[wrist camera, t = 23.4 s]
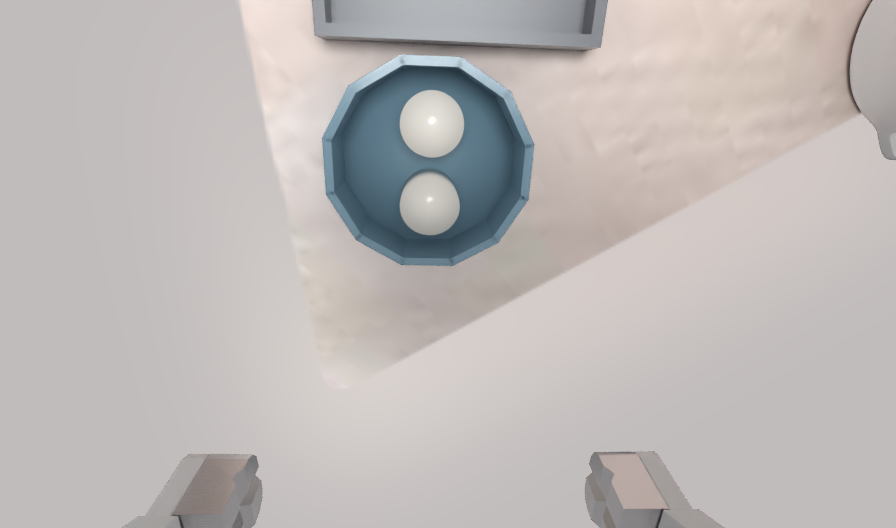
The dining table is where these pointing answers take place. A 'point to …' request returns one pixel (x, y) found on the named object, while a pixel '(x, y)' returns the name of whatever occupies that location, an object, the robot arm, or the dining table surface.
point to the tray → (465, 22)
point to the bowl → (427, 159)
